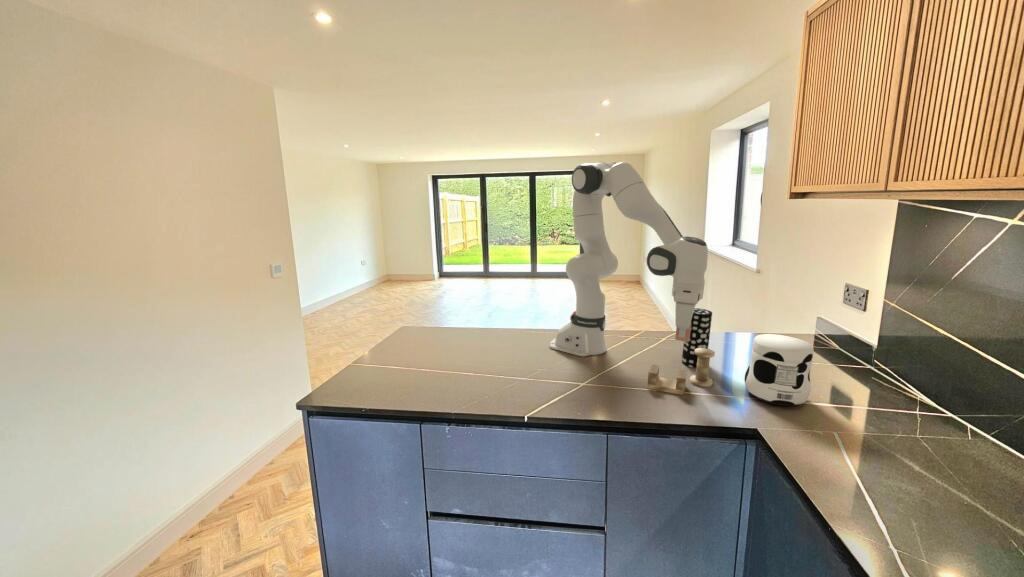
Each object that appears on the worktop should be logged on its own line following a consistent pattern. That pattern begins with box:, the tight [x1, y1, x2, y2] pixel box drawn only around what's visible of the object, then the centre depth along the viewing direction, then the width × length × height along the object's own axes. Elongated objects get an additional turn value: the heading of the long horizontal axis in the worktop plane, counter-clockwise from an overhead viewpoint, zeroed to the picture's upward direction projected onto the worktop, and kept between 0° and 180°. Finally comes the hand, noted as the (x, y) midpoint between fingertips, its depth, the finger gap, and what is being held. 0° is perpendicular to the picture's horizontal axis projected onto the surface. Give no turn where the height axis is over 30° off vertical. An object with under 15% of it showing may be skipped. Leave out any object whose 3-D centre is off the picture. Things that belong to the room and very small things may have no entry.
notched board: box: [646, 364, 688, 396], centre depth 138 cm, size 11×7×6 cm, turn 65°
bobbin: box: [689, 348, 715, 388], centre depth 141 cm, size 7×7×11 cm
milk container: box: [744, 333, 815, 407], centre depth 130 cm, size 17×17×18 cm
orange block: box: [674, 323, 692, 342], centre depth 133 cm, size 4×4×5 cm
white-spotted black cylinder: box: [681, 307, 713, 369], centre depth 155 cm, size 8×8×20 cm
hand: (682, 334), depth 133 cm, fingers closed on orange block, 4 cm apart
